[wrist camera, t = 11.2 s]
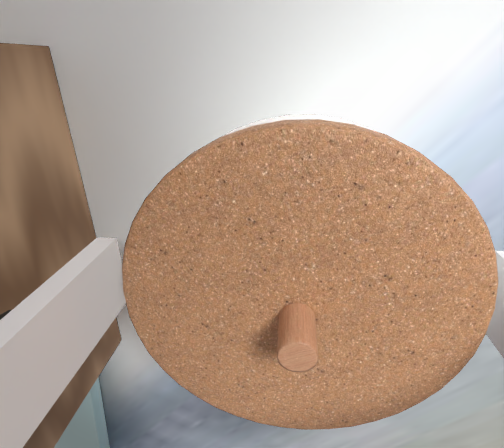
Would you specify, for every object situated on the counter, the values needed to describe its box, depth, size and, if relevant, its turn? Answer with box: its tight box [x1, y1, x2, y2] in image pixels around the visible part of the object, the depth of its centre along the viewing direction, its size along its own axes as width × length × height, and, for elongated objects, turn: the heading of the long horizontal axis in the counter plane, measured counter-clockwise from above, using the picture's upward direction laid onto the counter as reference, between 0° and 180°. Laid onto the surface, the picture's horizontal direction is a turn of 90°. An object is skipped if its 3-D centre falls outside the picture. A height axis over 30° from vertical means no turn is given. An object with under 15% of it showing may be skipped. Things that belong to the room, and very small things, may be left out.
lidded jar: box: [122, 114, 498, 429], centre depth 13 cm, size 11×11×9 cm
